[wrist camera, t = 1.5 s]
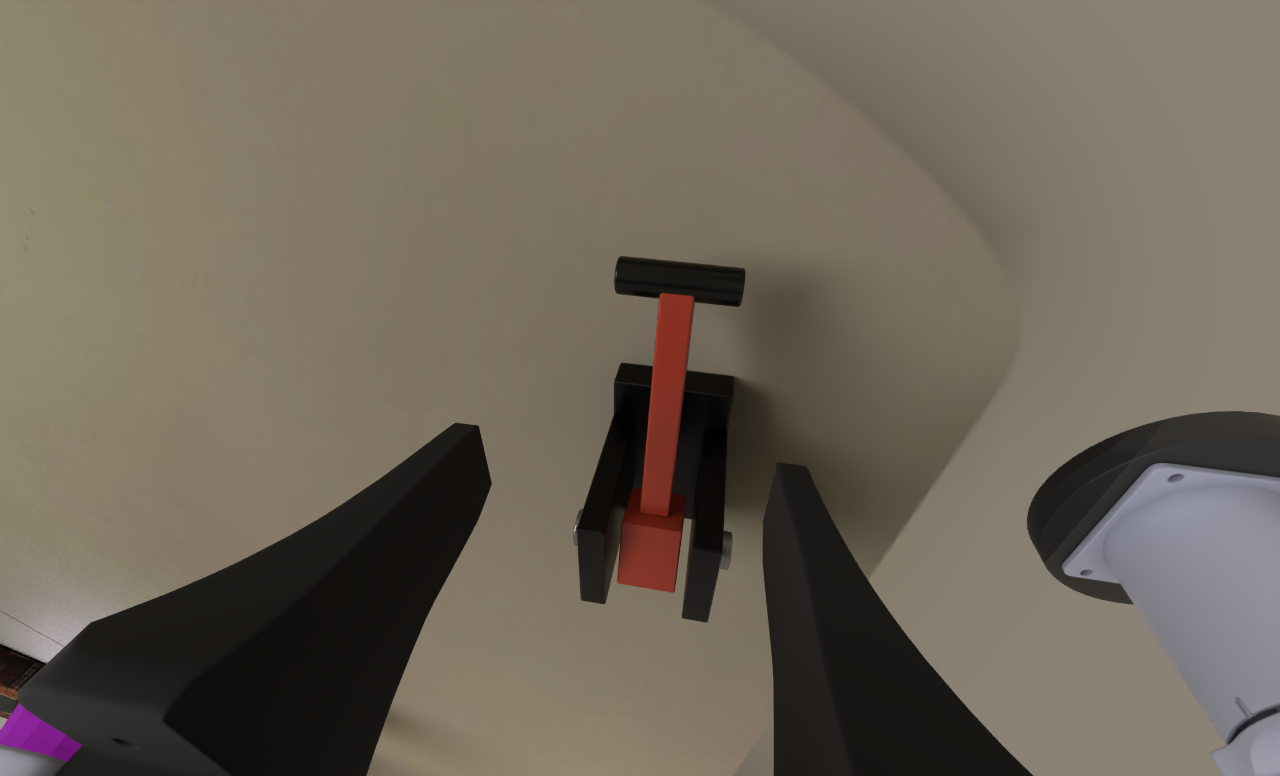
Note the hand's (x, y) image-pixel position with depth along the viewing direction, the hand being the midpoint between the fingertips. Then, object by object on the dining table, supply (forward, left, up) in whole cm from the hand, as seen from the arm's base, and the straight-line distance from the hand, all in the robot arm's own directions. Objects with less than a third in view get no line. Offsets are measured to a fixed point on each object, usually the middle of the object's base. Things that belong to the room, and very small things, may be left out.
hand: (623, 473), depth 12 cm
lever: (0, +3, -6) cm, 7 cm away
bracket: (-1, +8, -10) cm, 12 cm away
